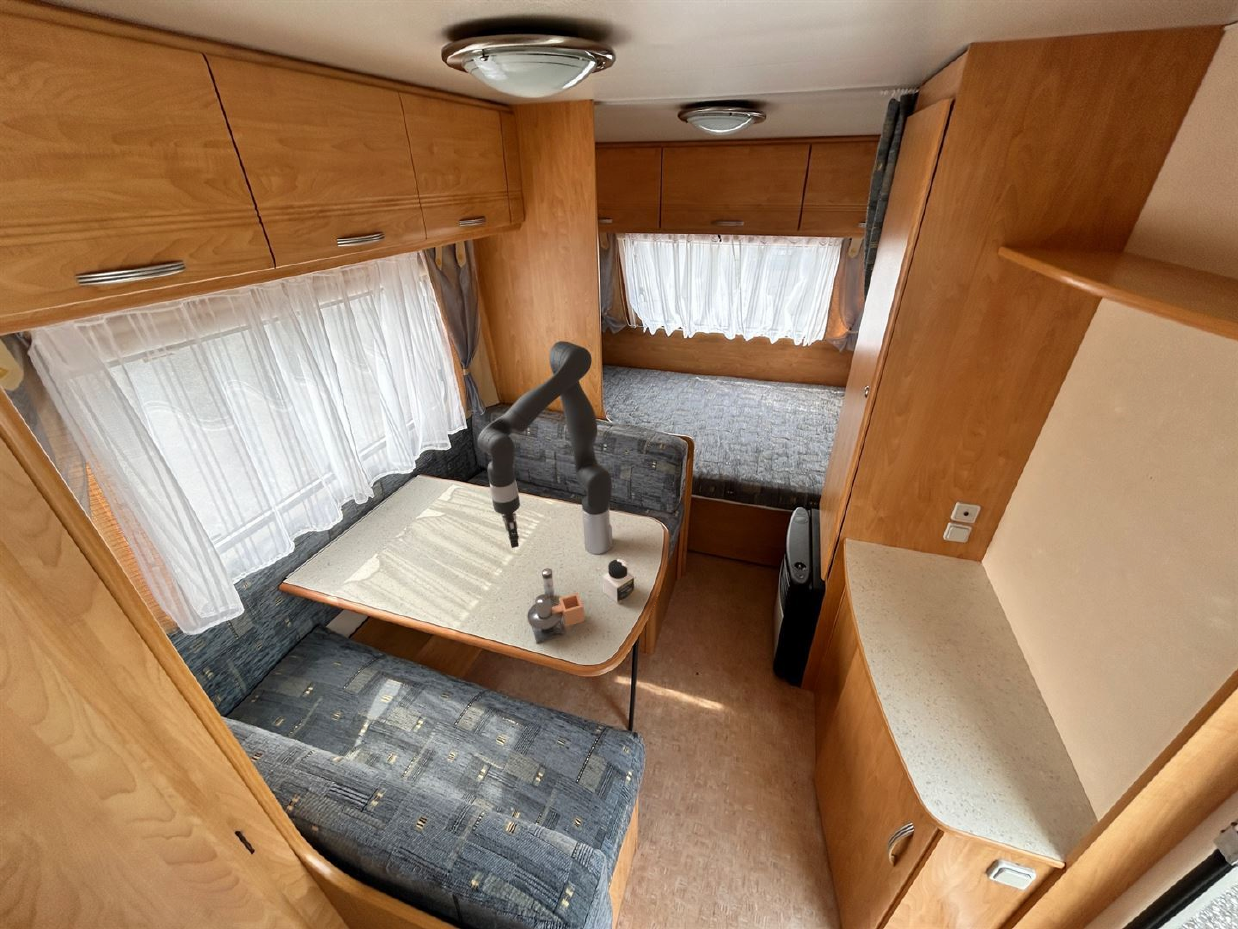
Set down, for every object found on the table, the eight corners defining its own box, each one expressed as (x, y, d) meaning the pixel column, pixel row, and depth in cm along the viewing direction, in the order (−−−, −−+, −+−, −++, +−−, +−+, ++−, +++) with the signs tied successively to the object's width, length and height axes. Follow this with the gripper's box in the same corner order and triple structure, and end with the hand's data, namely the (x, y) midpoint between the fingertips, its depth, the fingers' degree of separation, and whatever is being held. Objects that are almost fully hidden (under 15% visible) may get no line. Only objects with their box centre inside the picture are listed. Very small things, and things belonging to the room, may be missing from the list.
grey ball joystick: (558, 612, 157) (555, 583, 151) (567, 636, 149) (564, 607, 143) (526, 621, 154) (522, 592, 148) (533, 647, 146) (529, 617, 140)
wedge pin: (553, 592, 164) (550, 567, 159) (556, 599, 162) (553, 573, 156) (544, 595, 164) (540, 569, 158) (546, 602, 161) (543, 576, 155)
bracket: (578, 607, 156) (577, 592, 153) (584, 621, 152) (583, 606, 149) (550, 615, 154) (548, 601, 151) (555, 629, 149) (553, 615, 146)
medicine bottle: (617, 604, 160) (616, 575, 154) (603, 592, 164) (601, 563, 158) (634, 593, 164) (634, 564, 157) (619, 581, 168) (619, 553, 162)
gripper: (522, 504, 141) (529, 549, 150) (513, 478, 153) (521, 521, 161) (494, 510, 139) (503, 555, 148) (488, 483, 151) (497, 526, 159)
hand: (512, 537), depth 155 cm, fingers open, 8 cm apart
